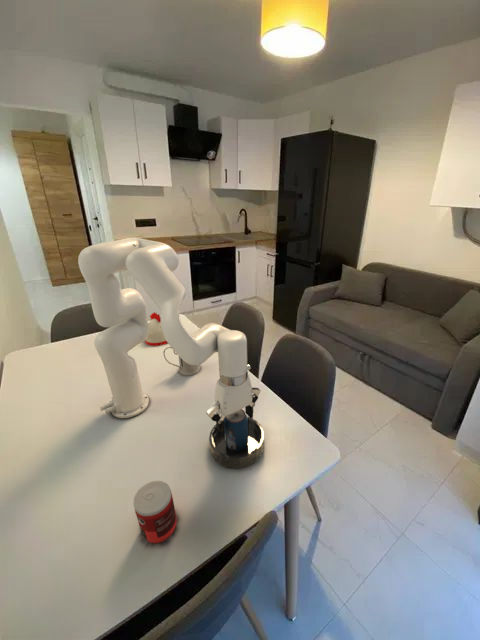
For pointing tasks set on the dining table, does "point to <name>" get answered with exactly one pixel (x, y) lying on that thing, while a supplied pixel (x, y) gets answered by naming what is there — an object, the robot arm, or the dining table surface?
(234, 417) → the soda can
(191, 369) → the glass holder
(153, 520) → the canned food
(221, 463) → the bowl
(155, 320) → the kitchen timer
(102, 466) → the dining table surface
